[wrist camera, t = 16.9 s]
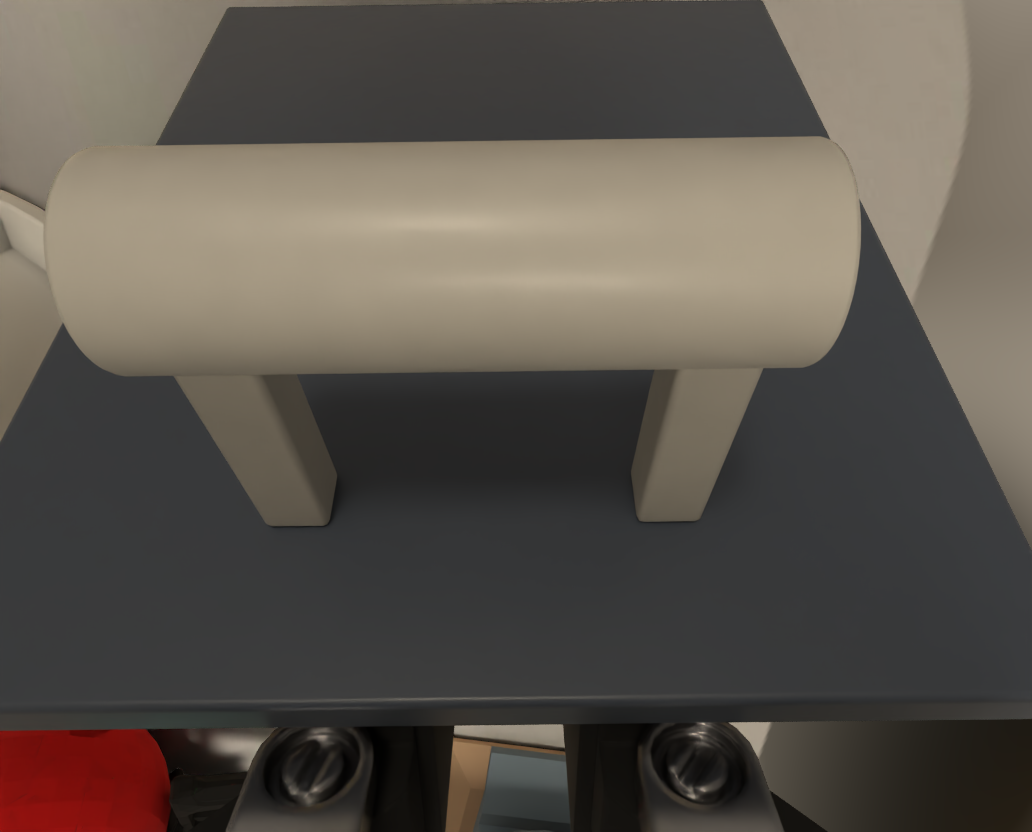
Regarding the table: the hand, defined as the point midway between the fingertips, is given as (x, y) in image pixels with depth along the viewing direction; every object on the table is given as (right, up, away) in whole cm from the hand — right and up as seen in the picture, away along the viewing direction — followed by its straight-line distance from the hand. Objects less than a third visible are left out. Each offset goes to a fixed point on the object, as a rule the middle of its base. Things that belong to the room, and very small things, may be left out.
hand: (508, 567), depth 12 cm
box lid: (0, +5, 0) cm, 5 cm away
